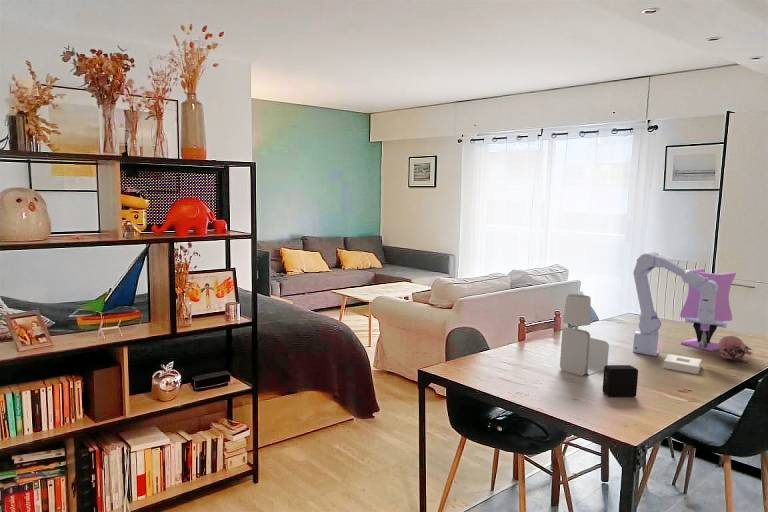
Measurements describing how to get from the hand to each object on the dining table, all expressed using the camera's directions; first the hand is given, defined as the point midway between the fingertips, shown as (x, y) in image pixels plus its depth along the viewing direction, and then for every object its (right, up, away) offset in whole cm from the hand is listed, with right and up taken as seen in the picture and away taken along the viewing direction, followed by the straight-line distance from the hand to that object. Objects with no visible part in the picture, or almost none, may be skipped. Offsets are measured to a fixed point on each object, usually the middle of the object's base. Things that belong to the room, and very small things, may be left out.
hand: (703, 342), depth 223 cm
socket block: (-11, -10, -4) cm, 15 cm away
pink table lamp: (+18, -7, +30) cm, 35 cm away
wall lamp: (-54, -10, -10) cm, 56 cm away
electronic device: (-51, -13, -37) cm, 64 cm away
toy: (+17, -9, +6) cm, 20 cm away
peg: (0, -2, 0) cm, 2 cm away
